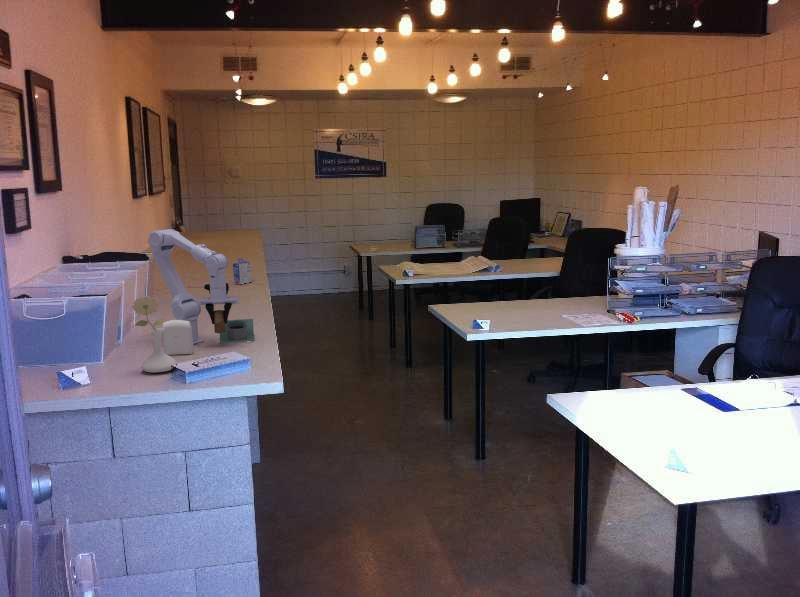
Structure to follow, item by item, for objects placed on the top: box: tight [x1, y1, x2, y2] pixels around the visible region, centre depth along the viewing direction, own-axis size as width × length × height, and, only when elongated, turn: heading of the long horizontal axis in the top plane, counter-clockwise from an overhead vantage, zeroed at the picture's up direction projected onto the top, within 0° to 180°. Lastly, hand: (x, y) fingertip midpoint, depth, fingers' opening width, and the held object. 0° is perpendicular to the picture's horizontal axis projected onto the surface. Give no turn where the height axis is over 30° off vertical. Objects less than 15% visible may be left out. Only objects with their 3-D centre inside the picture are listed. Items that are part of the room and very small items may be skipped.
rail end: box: [213, 309, 226, 334], centre depth 271 cm, size 4×4×8 cm
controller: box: [203, 282, 230, 296], centre depth 369 cm, size 4×12×10 cm, turn 100°
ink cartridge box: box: [232, 257, 253, 285], centre depth 419 cm, size 10×6×14 cm, turn 148°
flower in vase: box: [131, 295, 178, 373], centre depth 237 cm, size 13×11×25 cm
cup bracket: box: [219, 318, 256, 345], centre depth 282 cm, size 10×13×7 cm
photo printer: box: [161, 319, 194, 356], centre depth 260 cm, size 10×4×12 cm, turn 96°
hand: (219, 323), depth 271 cm, fingers closed on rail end, 4 cm apart
